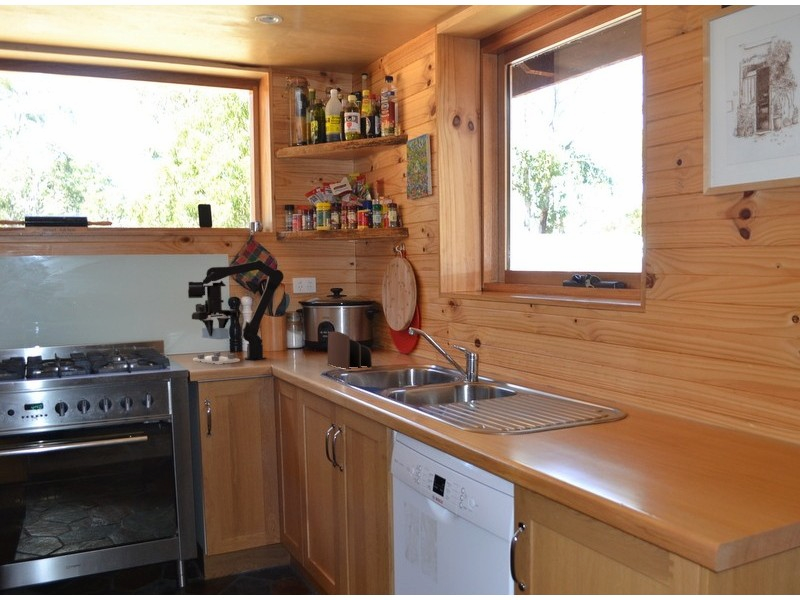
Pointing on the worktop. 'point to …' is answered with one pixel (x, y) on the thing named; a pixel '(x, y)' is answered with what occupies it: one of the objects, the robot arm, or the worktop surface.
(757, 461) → the worktop surface
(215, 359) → the cradle
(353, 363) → the letter holder
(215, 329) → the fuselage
